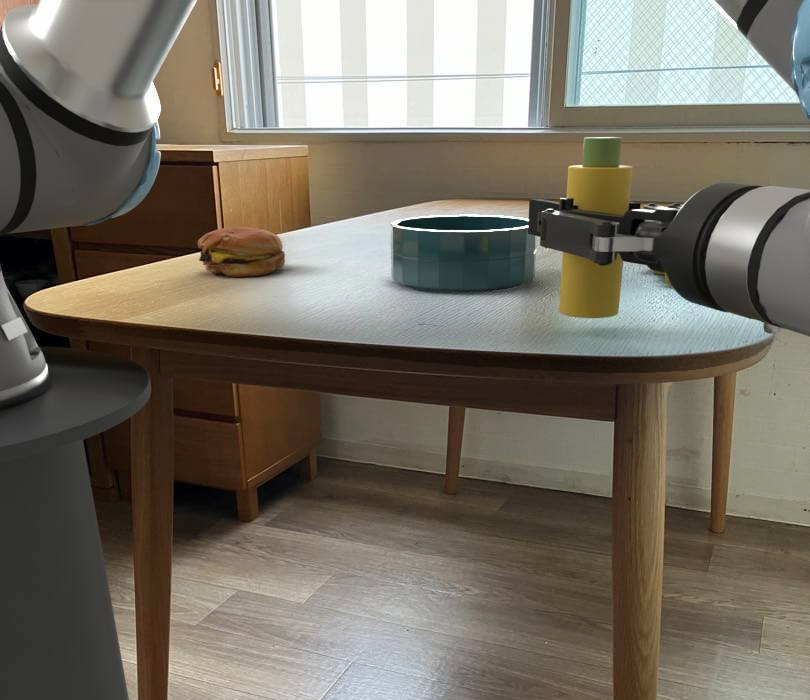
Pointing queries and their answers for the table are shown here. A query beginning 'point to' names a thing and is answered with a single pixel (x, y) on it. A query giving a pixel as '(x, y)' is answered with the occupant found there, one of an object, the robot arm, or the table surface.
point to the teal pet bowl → (462, 253)
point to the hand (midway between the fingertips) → (562, 215)
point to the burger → (241, 251)
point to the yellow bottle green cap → (601, 192)
